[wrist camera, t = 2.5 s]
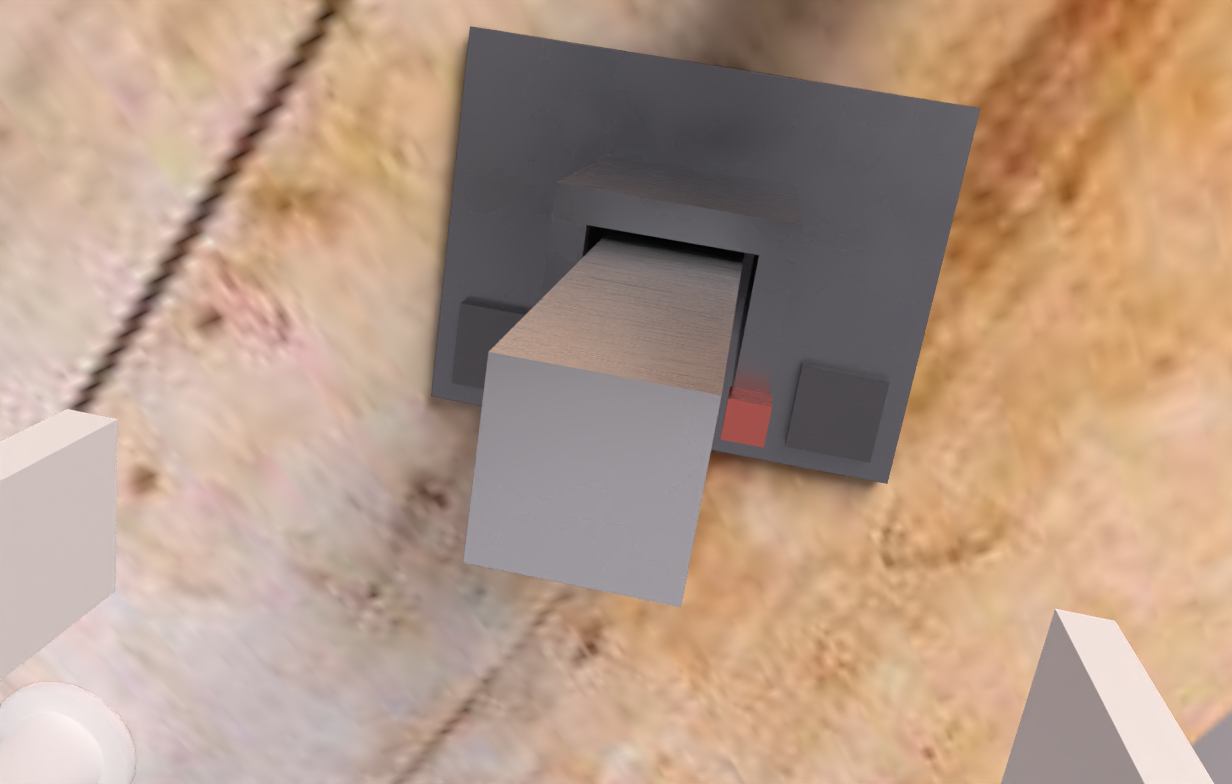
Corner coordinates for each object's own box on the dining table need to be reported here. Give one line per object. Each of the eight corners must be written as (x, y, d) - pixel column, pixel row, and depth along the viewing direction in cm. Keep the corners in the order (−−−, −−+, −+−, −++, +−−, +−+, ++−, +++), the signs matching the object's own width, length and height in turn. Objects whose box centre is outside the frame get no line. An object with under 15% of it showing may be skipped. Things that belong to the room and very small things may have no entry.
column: (619, 329, 41) (457, 606, 20) (640, 199, 39) (488, 351, 18) (724, 348, 40) (672, 651, 19) (749, 219, 39) (721, 395, 18)
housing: (438, 389, 44) (318, 504, 32) (477, 27, 39) (354, 10, 28) (884, 474, 42) (926, 628, 31) (974, 107, 38) (1063, 125, 26)
